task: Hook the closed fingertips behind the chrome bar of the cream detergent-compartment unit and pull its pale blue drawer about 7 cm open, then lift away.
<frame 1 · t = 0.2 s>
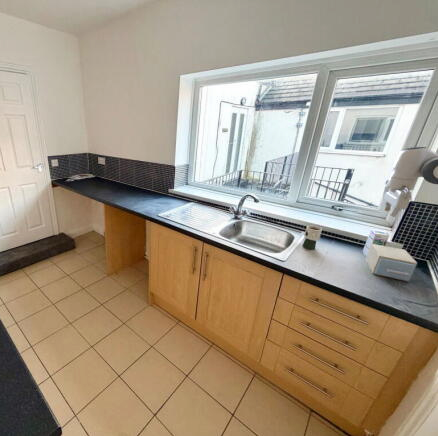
hand: (389, 213, 113), 27 cm above the counter, tool pointing down, fingers open, 8 cm apart
syrup box: (370, 256, 130), on the counter
character mug: (308, 248, 138), on the counter
drawer: (391, 265, 113), point 5 cm above the counter, slide at 0.0 cm
compartment unit: (385, 270, 118), on the counter
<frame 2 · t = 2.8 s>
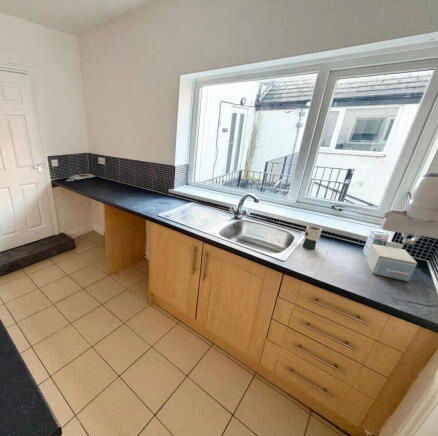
hand: (407, 243, 103), 18 cm above the counter, tool pointing down, fingers closed
nothing on the counter moved.
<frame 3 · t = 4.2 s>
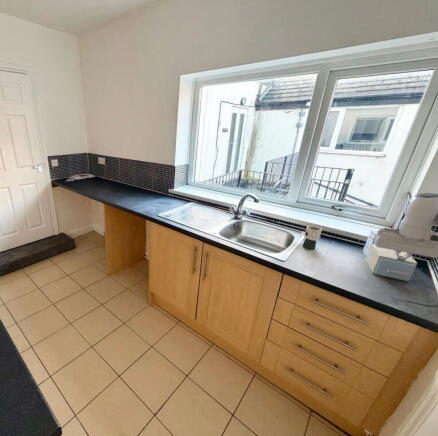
hand: (399, 260, 106), 10 cm above the counter, tool pointing down, fingers closed
nothing on the counter moved.
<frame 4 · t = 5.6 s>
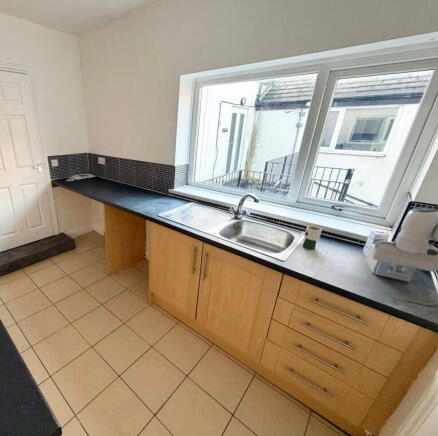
hand: (397, 273, 106), 5 cm above the counter, tool pointing down, fingers closed
drawer: (392, 266, 112), point 5 cm above the counter, slide at 0.9 cm
everything else where it was.
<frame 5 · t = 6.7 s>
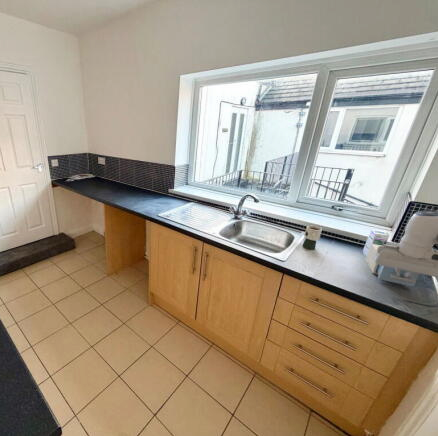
hand: (400, 278, 103), 5 cm above the counter, tool pointing down, fingers closed, pressing on drawer
drawer: (395, 270, 108), point 5 cm above the counter, slide at 5.3 cm, touching gripper
everything else where it was.
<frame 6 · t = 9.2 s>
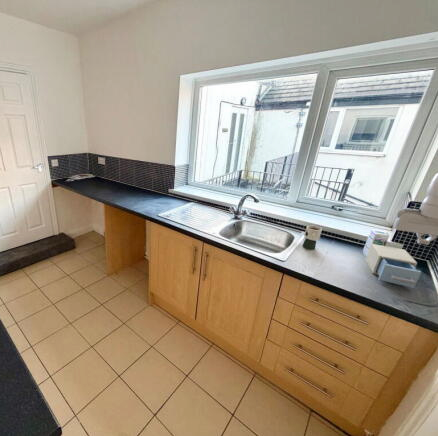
hand: (422, 243, 98), 21 cm above the counter, tool pointing down, fingers closed
drawer: (396, 271, 108), point 5 cm above the counter, slide at 6.0 cm
everything else where it was.
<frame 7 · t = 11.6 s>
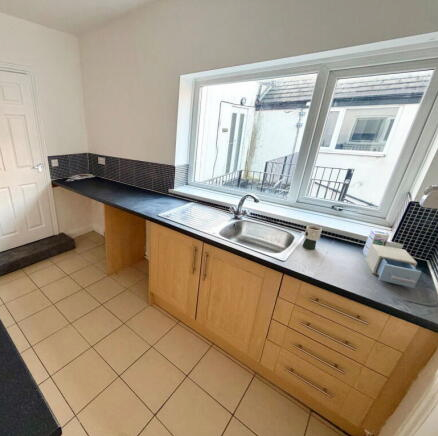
nothing on the counter moved.
at the end: drawer slide at 6.0 cm; syrup box moved 0.1 cm from its start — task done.
